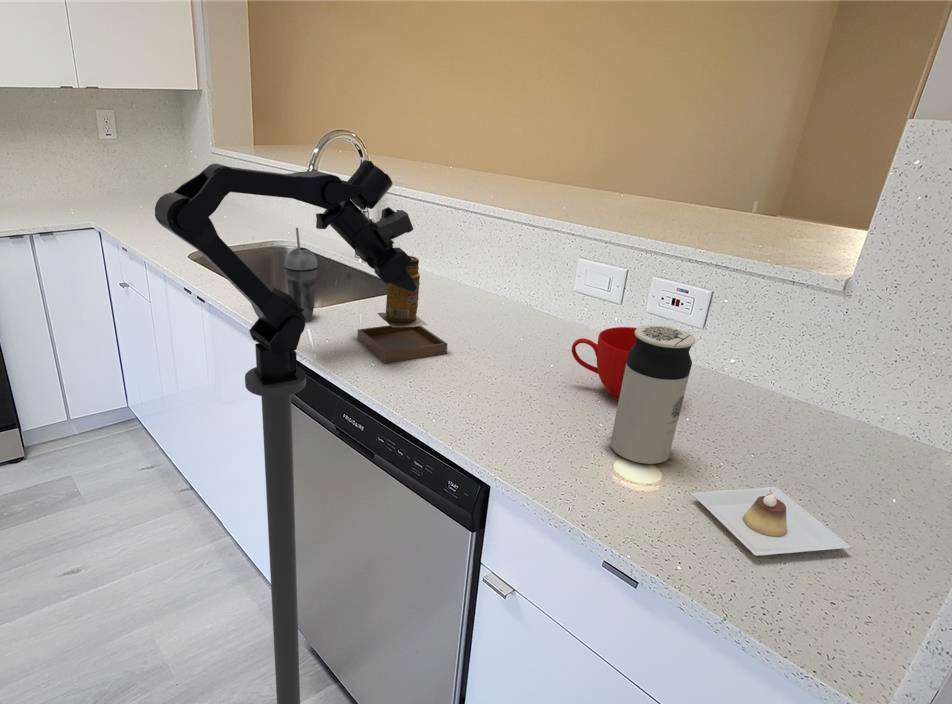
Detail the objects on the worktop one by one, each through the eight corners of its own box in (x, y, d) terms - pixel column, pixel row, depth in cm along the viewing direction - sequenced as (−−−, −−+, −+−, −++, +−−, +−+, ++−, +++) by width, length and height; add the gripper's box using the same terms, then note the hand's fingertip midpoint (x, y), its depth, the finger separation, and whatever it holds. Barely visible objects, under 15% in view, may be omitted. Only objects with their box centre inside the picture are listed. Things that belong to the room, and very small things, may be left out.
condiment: (410, 311, 130) (415, 252, 125) (428, 326, 122) (433, 264, 118) (376, 314, 127) (379, 254, 123) (392, 329, 120) (396, 266, 115)
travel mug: (598, 447, 94) (621, 331, 87) (629, 431, 98) (653, 320, 91) (649, 472, 88) (677, 350, 81) (679, 454, 93) (709, 337, 85)
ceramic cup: (569, 370, 119) (577, 319, 115) (668, 386, 114) (680, 333, 109) (562, 399, 108) (570, 344, 104) (671, 419, 102) (685, 361, 98)
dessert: (773, 493, 84) (784, 462, 82) (848, 555, 73) (862, 520, 71) (688, 499, 82) (697, 467, 80) (752, 563, 72) (764, 528, 70)
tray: (385, 363, 120) (385, 352, 119) (357, 339, 131) (357, 329, 130) (446, 353, 125) (447, 343, 124) (414, 331, 136) (415, 321, 135)
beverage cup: (325, 317, 143) (325, 226, 135) (305, 326, 137) (303, 232, 129) (299, 310, 146) (297, 222, 138) (278, 319, 141) (275, 227, 133)
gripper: (402, 204, 107) (458, 267, 114) (374, 188, 124) (424, 244, 131) (355, 252, 108) (413, 312, 115) (333, 230, 125) (385, 283, 132)
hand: (410, 285), depth 123 cm, fingers closed on condiment, 6 cm apart
